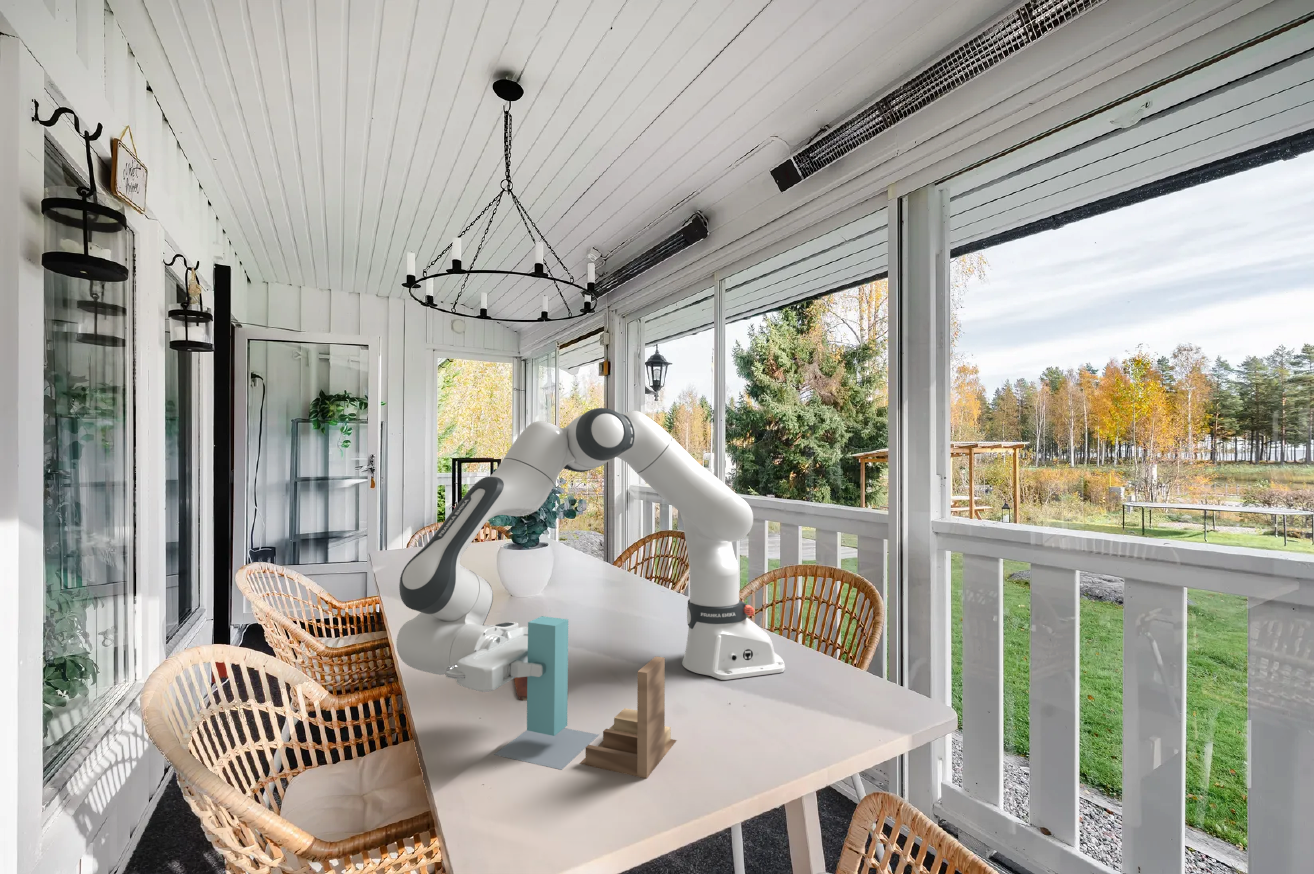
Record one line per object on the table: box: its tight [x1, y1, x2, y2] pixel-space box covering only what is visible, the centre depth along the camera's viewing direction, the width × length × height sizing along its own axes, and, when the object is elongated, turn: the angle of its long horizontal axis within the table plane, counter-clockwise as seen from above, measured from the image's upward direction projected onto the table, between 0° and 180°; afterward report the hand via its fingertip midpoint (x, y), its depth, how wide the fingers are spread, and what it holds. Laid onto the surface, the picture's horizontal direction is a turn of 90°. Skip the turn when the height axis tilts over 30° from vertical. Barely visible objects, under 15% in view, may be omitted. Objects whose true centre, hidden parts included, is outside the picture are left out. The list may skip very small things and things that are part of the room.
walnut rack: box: [579, 656, 678, 779], centre depth 97 cm, size 12×11×16 cm
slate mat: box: [493, 727, 600, 771], centre depth 99 cm, size 12×12×1 cm
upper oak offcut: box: [613, 707, 637, 734], centre depth 100 cm, size 4×7×2 cm, turn 68°
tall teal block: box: [526, 615, 569, 736], centre depth 99 cm, size 4×5×17 cm
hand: (552, 664), depth 99 cm, fingers closed on tall teal block, 4 cm apart
